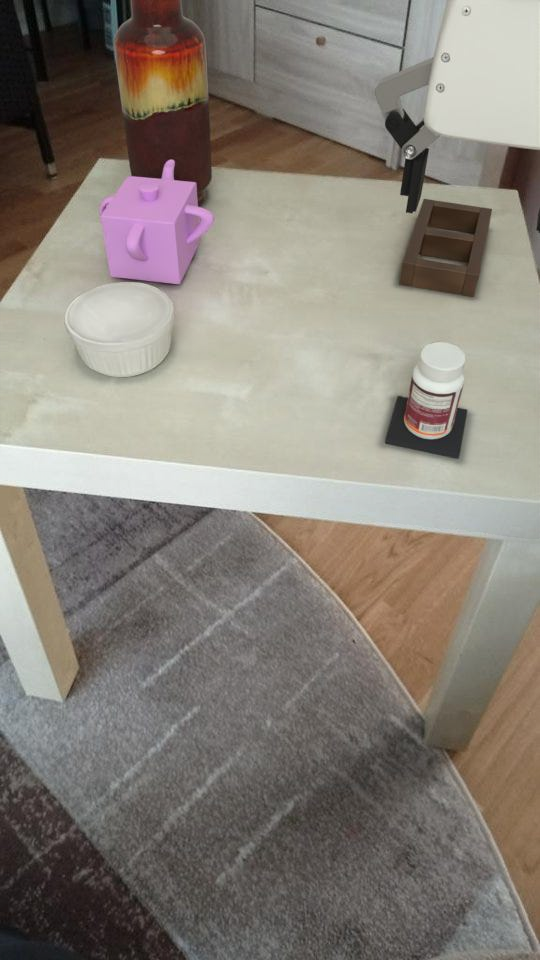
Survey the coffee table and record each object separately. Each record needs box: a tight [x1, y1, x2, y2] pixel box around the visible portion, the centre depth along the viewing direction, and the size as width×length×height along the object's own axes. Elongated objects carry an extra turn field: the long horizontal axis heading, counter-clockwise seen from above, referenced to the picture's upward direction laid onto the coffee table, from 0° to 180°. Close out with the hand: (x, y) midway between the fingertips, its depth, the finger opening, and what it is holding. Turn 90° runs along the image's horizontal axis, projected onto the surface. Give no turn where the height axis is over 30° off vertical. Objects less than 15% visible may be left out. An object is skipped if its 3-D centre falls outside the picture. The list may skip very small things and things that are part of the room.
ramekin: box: [63, 281, 176, 378], centre depth 78 cm, size 11×11×5 cm
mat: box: [384, 395, 468, 459], centre depth 72 cm, size 7×7×1 cm
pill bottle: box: [404, 341, 467, 439], centre depth 68 cm, size 5×5×8 cm
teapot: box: [98, 160, 215, 285], centre depth 88 cm, size 18×14×10 cm
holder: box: [398, 198, 493, 298], centre depth 92 cm, size 9×16×3 cm, turn 163°
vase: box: [113, 0, 213, 207], centre depth 93 cm, size 11×11×26 cm
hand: (476, 214), depth 55 cm, fingers open, 9 cm apart
